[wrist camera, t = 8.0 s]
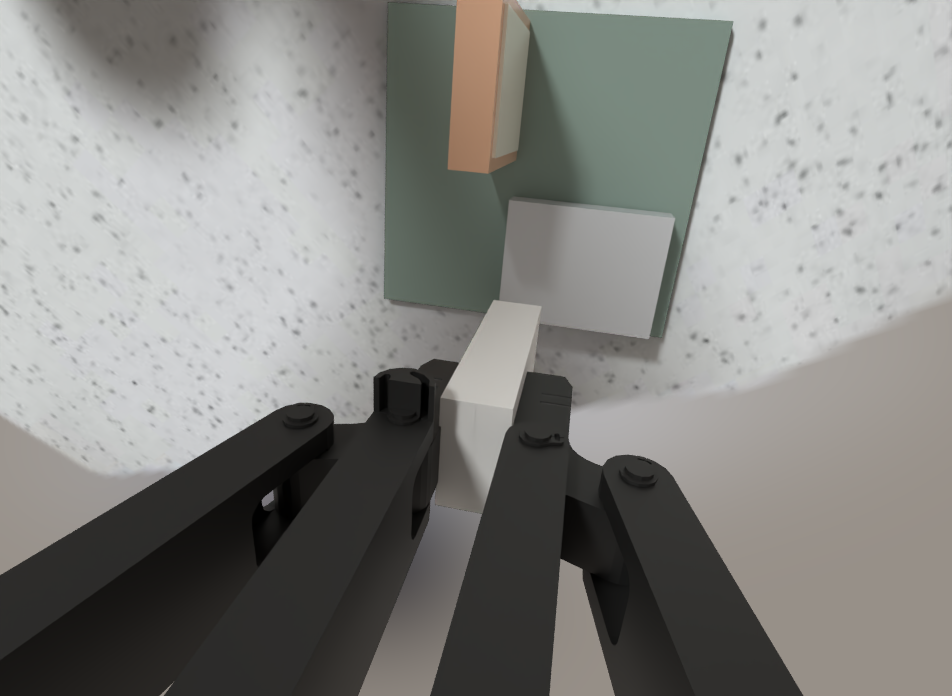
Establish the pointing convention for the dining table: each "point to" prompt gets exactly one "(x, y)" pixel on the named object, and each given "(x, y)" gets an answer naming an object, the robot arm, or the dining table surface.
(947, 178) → the dining table surface
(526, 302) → the white flat block
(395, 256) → the mat
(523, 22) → the terracotta tile
